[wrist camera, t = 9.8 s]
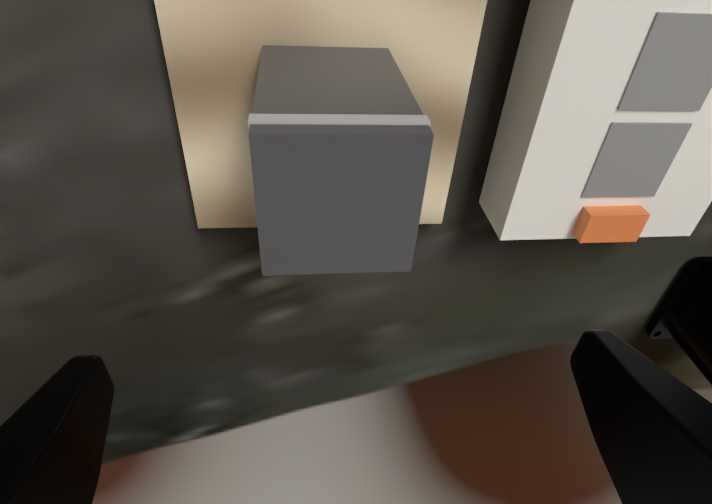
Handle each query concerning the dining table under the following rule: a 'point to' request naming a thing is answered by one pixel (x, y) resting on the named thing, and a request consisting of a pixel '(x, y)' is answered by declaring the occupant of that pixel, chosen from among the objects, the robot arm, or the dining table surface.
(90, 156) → the dining table surface
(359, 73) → the block
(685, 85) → the switch housing
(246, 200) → the birch pad
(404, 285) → the dining table surface
